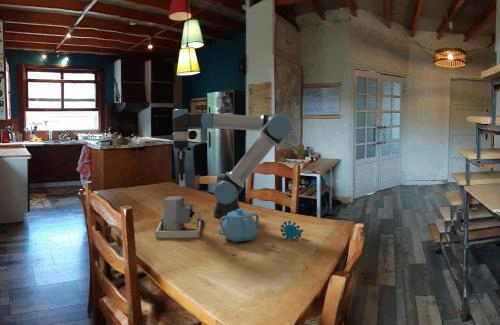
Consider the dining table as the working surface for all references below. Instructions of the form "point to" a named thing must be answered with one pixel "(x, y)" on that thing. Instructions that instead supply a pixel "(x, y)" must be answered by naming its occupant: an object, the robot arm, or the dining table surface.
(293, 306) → the dining table surface
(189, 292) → the dining table surface
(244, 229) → the decorative pot
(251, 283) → the dining table surface
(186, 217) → the circuit breaker
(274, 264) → the dining table surface
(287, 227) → the teal spiky ornament
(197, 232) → the parts bay
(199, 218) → the dark gray open bay
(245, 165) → the robot arm
